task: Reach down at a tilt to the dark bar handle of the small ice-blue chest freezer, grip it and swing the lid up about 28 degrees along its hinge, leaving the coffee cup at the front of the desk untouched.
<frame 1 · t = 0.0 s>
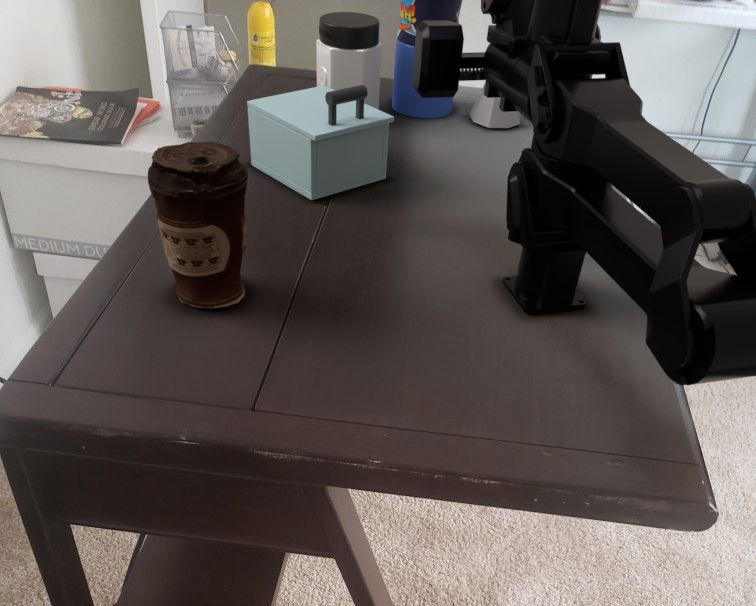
hand: (476, 35, 79), 17 cm above the table, tool horizontal, fingers open, 9 cm apart
jar: (347, 116, 108), on the table
coffee cup: (211, 296, 71), on the table
freezer lid: (320, 95, 86), point 9 cm above the table, hinge at 0.0°
freezer: (318, 172, 93), on the table
flask: (494, 123, 109), on the table
water bottle: (421, 109, 112), on the table
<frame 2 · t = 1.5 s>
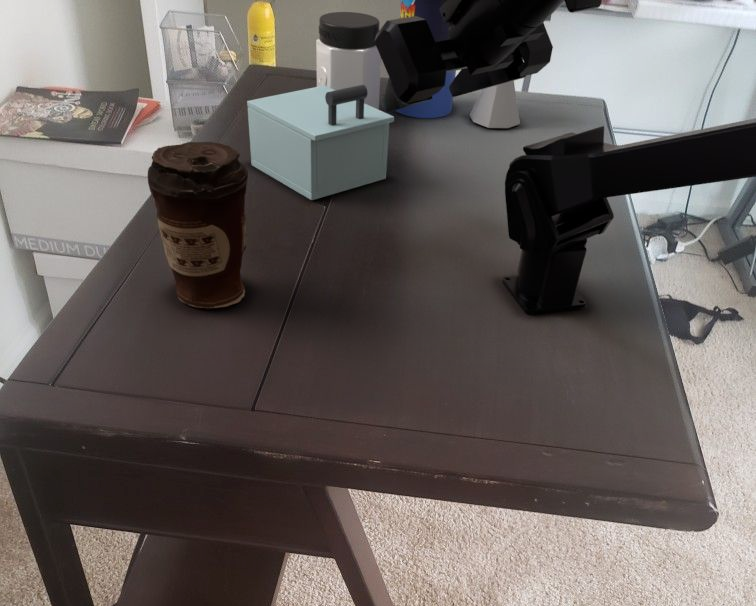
hand: (419, 99, 75), 13 cm above the table, tool tilted 45°, fingers open, 9 cm apart
nothing on the table moved.
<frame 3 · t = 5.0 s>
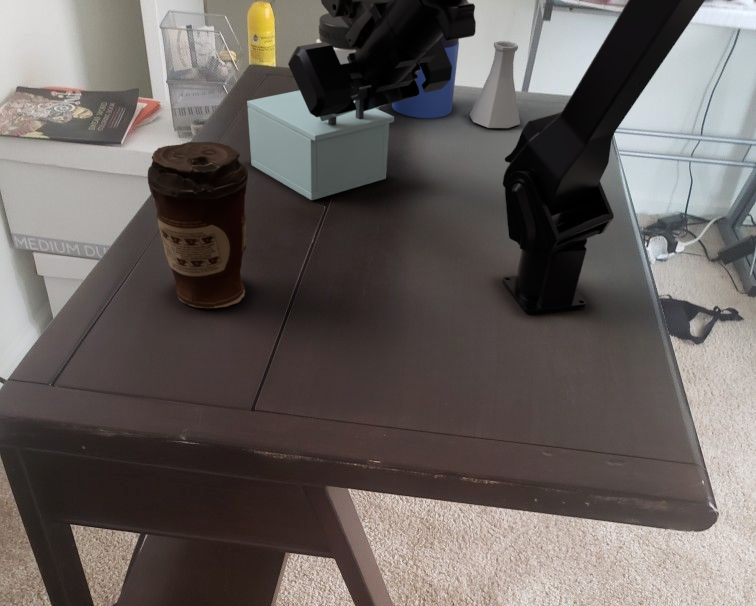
hand: (339, 112, 85), 8 cm above the table, tool tilted 45°, fingers closed on freezer lid, 5 cm apart
freezer lid: (320, 95, 86), point 9 cm above the table, hinge at 0.0°, touching gripper
everything else where it was.
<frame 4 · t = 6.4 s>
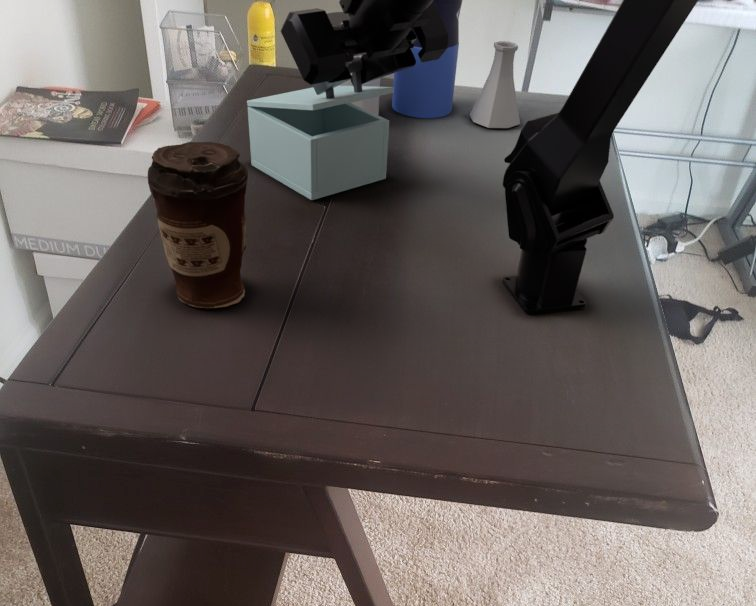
hand: (335, 86, 84), 10 cm above the table, tool tilted 45°, fingers closed on freezer lid, 5 cm apart
freezer lid: (317, 80, 86), point 10 cm above the table, hinge at 13.2°, touching gripper
everything else where it was.
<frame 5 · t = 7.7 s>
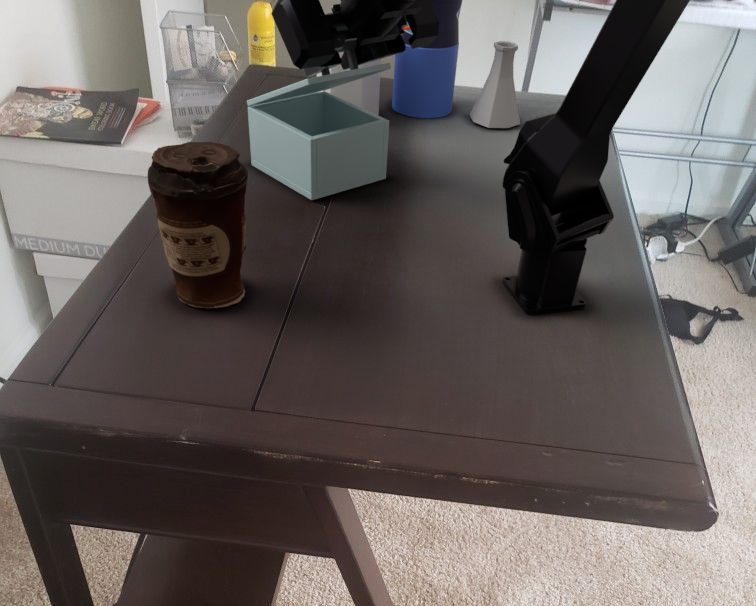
hand: (324, 68, 84), 12 cm above the table, tool tilted 45°, fingers closed on freezer lid, 5 cm apart
freezer lid: (313, 68, 85), point 11 cm above the table, hinge at 23.6°, touching gripper
everything else where it was.
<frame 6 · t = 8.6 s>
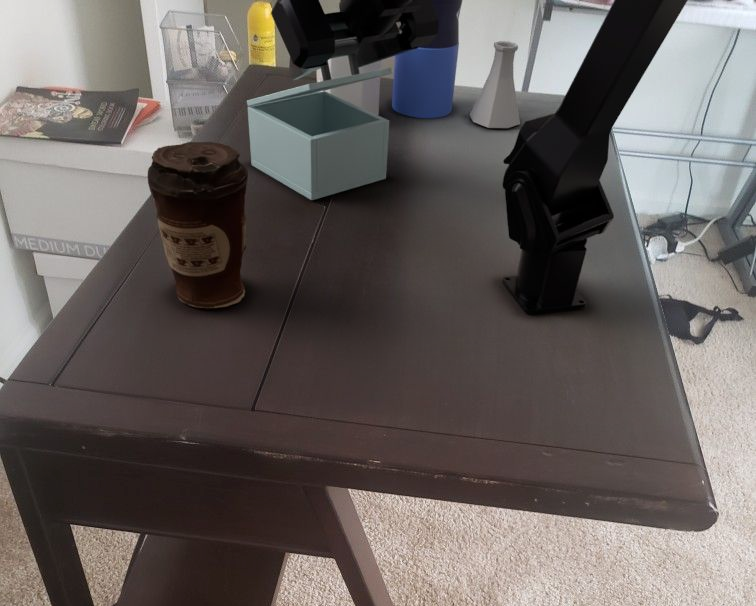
hand: (325, 69, 84), 12 cm above the table, tool tilted 45°, fingers open, 9 cm apart
freezer lid: (314, 70, 85), point 11 cm above the table, hinge at 21.5°
everything else where it was.
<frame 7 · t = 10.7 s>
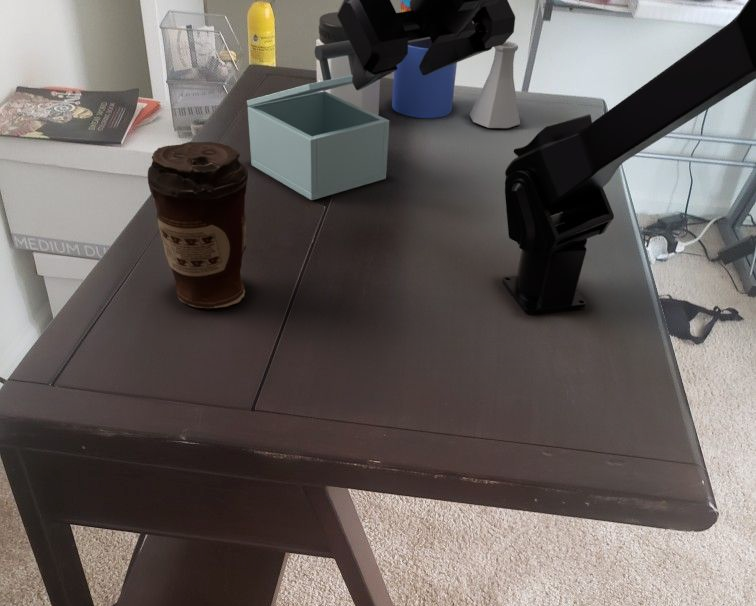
hand: (389, 78, 77), 13 cm above the table, tool tilted 40°, fingers open, 9 cm apart
nothing on the table moved.
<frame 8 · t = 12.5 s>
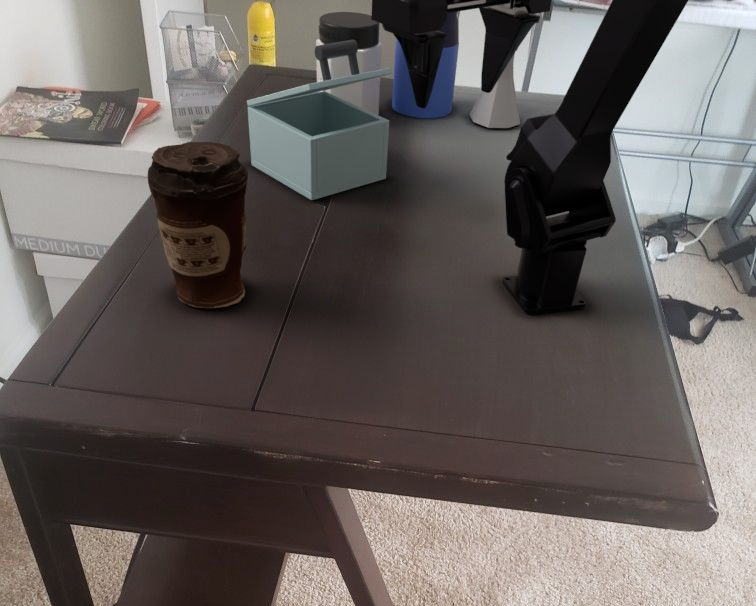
hand: (454, 99, 75), 13 cm above the table, tool pointing down, fingers open, 9 cm apart
nothing on the table moved.
at the end: freezer lid at +22° (first picture: +0°); coffee cup moved 0.2 cm from its start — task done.
